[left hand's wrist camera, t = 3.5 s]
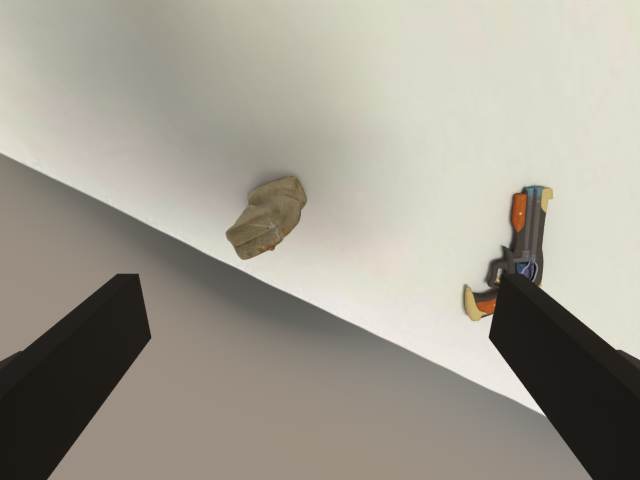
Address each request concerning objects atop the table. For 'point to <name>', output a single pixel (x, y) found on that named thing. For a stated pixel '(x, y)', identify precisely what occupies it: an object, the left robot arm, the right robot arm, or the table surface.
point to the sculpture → (267, 217)
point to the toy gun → (517, 249)
